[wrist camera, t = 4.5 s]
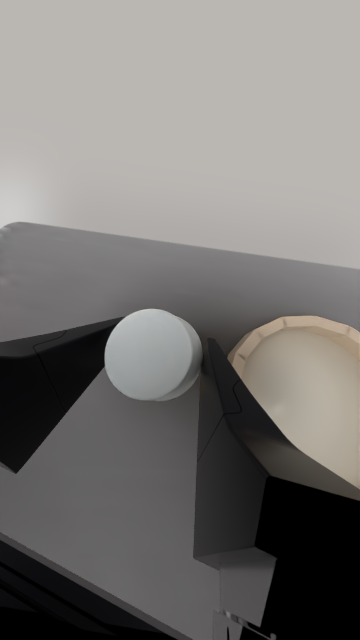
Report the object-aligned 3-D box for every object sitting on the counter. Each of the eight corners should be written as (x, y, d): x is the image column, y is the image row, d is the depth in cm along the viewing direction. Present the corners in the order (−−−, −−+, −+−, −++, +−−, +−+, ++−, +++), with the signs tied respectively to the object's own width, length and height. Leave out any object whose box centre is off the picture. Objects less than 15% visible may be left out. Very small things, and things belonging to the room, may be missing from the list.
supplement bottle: (182, 325, 16) (174, 276, 7) (206, 368, 15) (236, 376, 6) (141, 347, 16) (74, 326, 7) (161, 394, 14) (112, 451, 5)
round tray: (395, 546, 10) (455, 599, 8) (201, 448, 13) (204, 467, 10) (390, 351, 14) (429, 349, 12) (242, 305, 16) (250, 296, 14)
